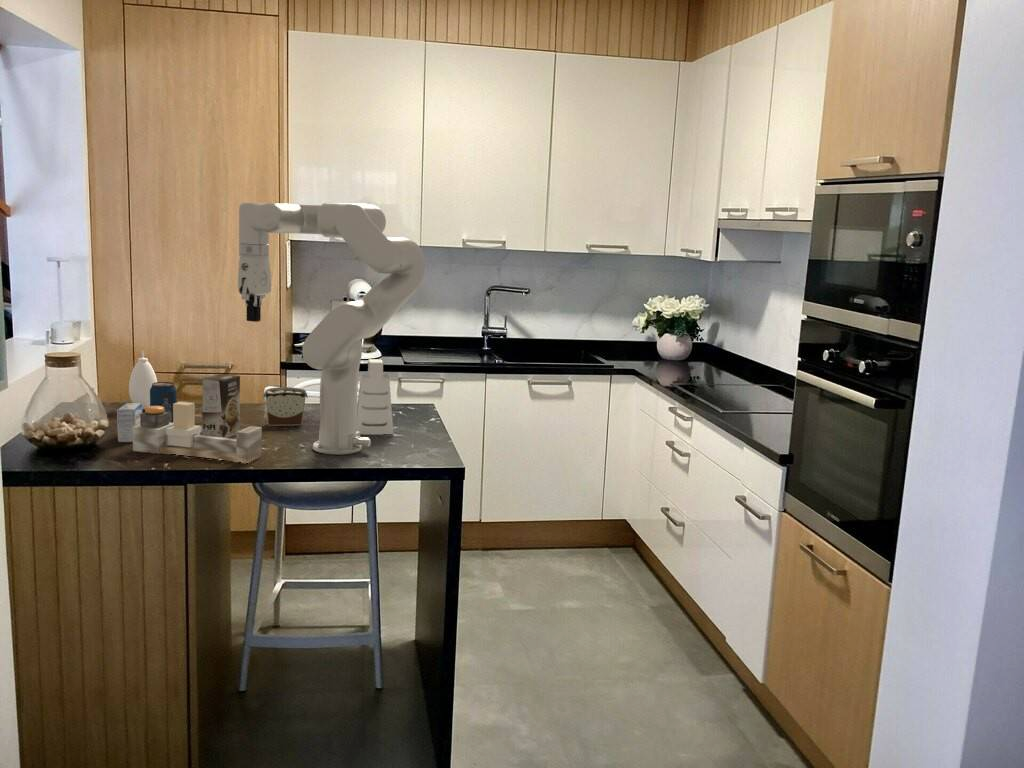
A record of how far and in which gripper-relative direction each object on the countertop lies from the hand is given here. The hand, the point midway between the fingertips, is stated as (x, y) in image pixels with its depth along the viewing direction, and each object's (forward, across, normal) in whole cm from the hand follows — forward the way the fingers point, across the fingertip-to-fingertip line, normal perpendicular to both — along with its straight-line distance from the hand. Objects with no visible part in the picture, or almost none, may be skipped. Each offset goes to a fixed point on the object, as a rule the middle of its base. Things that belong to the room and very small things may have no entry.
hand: (253, 320), depth 241 cm
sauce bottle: (+31, +15, +42) cm, 55 cm away
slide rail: (+31, -22, +3) cm, 38 cm away
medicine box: (+31, -16, +26) cm, 44 cm away
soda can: (+31, -1, +26) cm, 41 cm away
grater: (+31, +20, -27) cm, 46 cm away
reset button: (+25, -22, +15) cm, 36 cm away
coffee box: (+31, -4, +7) cm, 32 cm away
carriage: (+29, -22, +7) cm, 37 cm away
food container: (+31, +17, -1) cm, 36 cm away
